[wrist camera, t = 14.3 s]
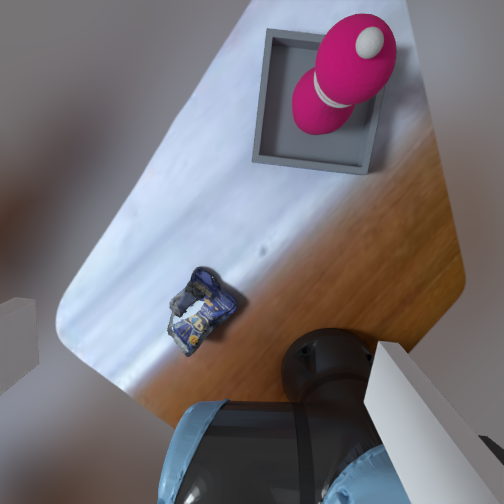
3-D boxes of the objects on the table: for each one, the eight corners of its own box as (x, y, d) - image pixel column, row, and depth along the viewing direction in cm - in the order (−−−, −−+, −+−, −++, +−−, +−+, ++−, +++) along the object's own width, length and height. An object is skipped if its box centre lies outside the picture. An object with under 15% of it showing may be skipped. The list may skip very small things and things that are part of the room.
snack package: (148, 282, 46) (175, 347, 48) (137, 294, 40) (169, 368, 42) (220, 256, 47) (244, 321, 49) (221, 264, 41) (249, 338, 43)
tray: (359, 175, 41) (366, 174, 38) (252, 162, 41) (251, 160, 38) (383, 54, 38) (393, 43, 35) (266, 40, 37) (266, 28, 35)
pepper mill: (339, 73, 37) (427, -44, 18) (347, 132, 39) (435, 84, 20) (283, 86, 38) (310, -14, 18) (293, 144, 40) (327, 109, 20)
